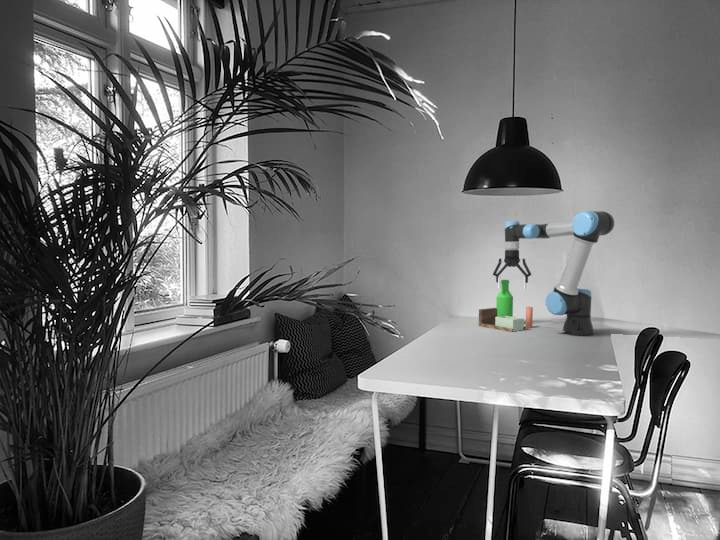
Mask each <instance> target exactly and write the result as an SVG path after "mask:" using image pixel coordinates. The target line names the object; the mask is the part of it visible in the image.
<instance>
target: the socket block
mask: <svg viewBox="0 0 720 540" xmlns="http://www.w3.org/2000/svg"><path fill="white" fill-rule="evenodd" d="M524 318H525V317H524ZM524 318H523V317H517V316H513V317H511V316H499V317H495V326H500V327H505V328H511V329H513V331H514V332H516V331H517V332H521V330H522V331H524V330H523V328H524V325H525V322H524V321H525V319H524Z"/></svg>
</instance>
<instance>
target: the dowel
mask: <svg viewBox="0 0 720 540" xmlns="http://www.w3.org/2000/svg"><path fill="white" fill-rule="evenodd" d="M533 311H534V307H532V306H526V307H525V327H528V329H533V314H534V312H533Z"/></svg>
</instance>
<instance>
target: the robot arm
mask: <svg viewBox="0 0 720 540" xmlns="http://www.w3.org/2000/svg"><path fill="white" fill-rule="evenodd" d="M614 228H615V219H614V217H613V215H612V214H610V213H609V212H607V211H603V210H602V211H600V210H599V211H596V210H594V211H593V210H585V211H581V212H579V213H577V214H576V215H575V216H574V218H573V219H572V220H566V221H558V222H551V223H543V224H538V223H536V224H535V223H534V224H533V223H528V224H525V223H524V224H523V223H522V224H520V222H519V221H518V220H507V221H505V224H504V249H505V250H504V258H499V259H498V263H497V265H496V267H495V269H494V271H493V273H492V276H494V277H495V281H496V282H495V283H498V284H497V289H498V290H501V276H500V275H501V274H502V273H503V272H504V271H505V269H506V268H511V267H513V268H515V267H517V269H518V270H519V271H520V272H521V273H522V274H523V276H524V277H523V290H526V289H527V284H528V282H529V277H530V276H532V272H531V271H530V268H529V267H528V265H527V262H526V258H520V250H519V249H520V240H521V239H526V240H527V239H528V240H531V239H532V240H533V239H551V238H558V237H566V236H567V237H568V236H573V239H574V240H573V243H572V246H571V249H570V252H569V254H568V259H566V260H567V261H566V263H565V266H564V269H563V271H562V274H561V277H560V280H559V283H557V284H555V285H554V287H553V290H552V291H550V292H549V293H548V294H547V295H546V297H545V300H544V301H545V302H544V303H545V306H546V308H547V310H548V312H549V313H550V314H552V315H554V316H564V315H566V318H565V321H564V324H563V327H562V333H563V334H566V335H573V336H593V335H594V334H595V330H594V326H593V322H592V319H591V317H592V316H591V314H592V297H593V296H592V292H591V290H590V289H587V288H578V285H579V283H580V280H581V278H582V276H583V272H584V270H585V267H586V264H587V261H588V258H589V256H590V253H591V250H592V247H593V245H595V244H597V243H598V241H599V238H600V236H605V235H608V234H610V233H611V232H612V231H613V230H614ZM520 262H521V263H522V265H523V267H524V269H523V267H521V265H520ZM502 263H505V264H504V265H503V267H502V268H501V269H500V267H501V265H502ZM499 269H500V270H499Z"/></svg>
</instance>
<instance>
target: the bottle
mask: <svg viewBox="0 0 720 540" xmlns="http://www.w3.org/2000/svg"><path fill="white" fill-rule="evenodd" d="M509 284H510V279H500V291H499V293H498V294H497V296H496V305H495V308H497V317H499V316H511V317H514V316H513V315H514V314H513V313H514V311H513V310H514V308H513V307H514V296H513V295H512V292H510V290H509V288H510V287H509V286H510V285H509Z"/></svg>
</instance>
